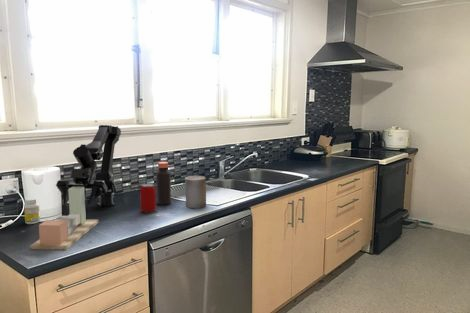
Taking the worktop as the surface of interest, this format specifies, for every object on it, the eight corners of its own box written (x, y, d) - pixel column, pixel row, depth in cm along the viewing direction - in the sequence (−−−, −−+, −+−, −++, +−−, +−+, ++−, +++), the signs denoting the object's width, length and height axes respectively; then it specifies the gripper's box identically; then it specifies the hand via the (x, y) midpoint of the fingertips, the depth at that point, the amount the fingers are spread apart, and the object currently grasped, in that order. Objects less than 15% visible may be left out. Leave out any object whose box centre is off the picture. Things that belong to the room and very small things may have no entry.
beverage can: (149, 207, 171) (149, 182, 170) (159, 210, 167) (158, 184, 165) (137, 211, 166) (136, 184, 164) (146, 214, 162) (146, 187, 160)
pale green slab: (74, 220, 147) (73, 186, 145) (85, 220, 147) (84, 186, 145) (53, 236, 130) (51, 197, 128) (65, 236, 130) (63, 197, 128)
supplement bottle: (35, 224, 147) (34, 200, 145) (22, 224, 147) (20, 200, 145) (42, 220, 152) (41, 197, 151) (29, 219, 152) (28, 197, 151)
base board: (69, 222, 150) (68, 205, 149) (98, 222, 150) (97, 206, 149) (30, 249, 122) (28, 229, 121) (66, 249, 122) (65, 229, 121)
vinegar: (173, 203, 179) (173, 162, 177) (162, 206, 174) (161, 164, 172) (165, 200, 184) (164, 161, 181) (153, 203, 179) (152, 162, 176)
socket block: (47, 238, 128) (46, 220, 127) (67, 238, 128) (66, 220, 127) (40, 244, 123) (38, 225, 123) (60, 244, 123) (59, 225, 122)
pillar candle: (203, 202, 182) (202, 172, 180) (208, 207, 173) (208, 176, 171) (183, 204, 178) (182, 173, 176) (188, 209, 169) (187, 177, 167)
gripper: (56, 160, 146) (43, 194, 137) (103, 160, 146) (94, 194, 136) (67, 175, 155) (55, 208, 146) (111, 176, 155) (102, 209, 145)
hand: (76, 205), depth 143 cm, fingers open, 9 cm apart
